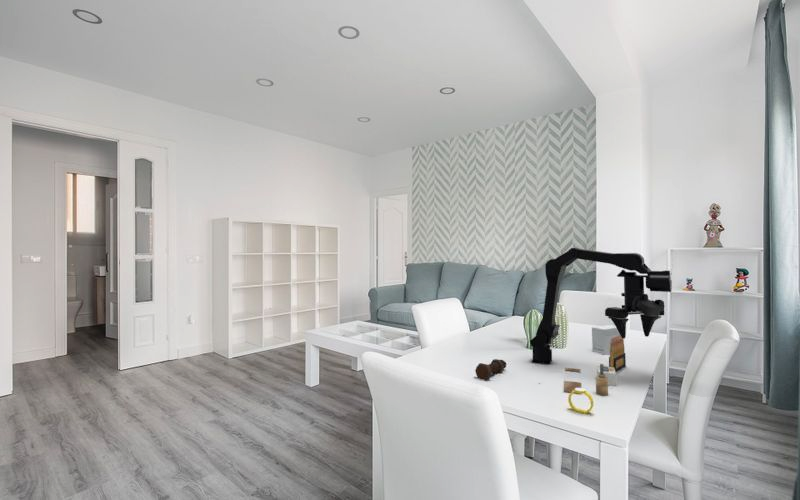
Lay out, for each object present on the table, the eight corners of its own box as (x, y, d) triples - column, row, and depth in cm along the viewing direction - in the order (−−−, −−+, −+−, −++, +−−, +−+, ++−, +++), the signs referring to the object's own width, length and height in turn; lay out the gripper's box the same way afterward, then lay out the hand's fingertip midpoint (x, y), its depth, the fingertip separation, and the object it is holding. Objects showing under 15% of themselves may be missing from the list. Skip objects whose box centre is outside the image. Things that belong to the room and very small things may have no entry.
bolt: (504, 374, 139) (484, 384, 128) (493, 365, 142) (472, 373, 131) (512, 362, 137) (492, 370, 126) (501, 352, 140) (480, 360, 129)
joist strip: (563, 392, 116) (563, 391, 116) (565, 368, 139) (565, 367, 139) (581, 394, 114) (581, 393, 114) (580, 370, 137) (580, 369, 137)
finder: (598, 384, 123) (598, 370, 123) (597, 377, 129) (597, 364, 129) (616, 386, 121) (616, 372, 121) (614, 379, 127) (614, 366, 127)
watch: (568, 411, 103) (566, 389, 104) (571, 408, 105) (569, 386, 106) (592, 415, 100) (590, 392, 100) (594, 412, 102) (593, 389, 102)
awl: (596, 394, 114) (596, 365, 114) (595, 391, 117) (595, 362, 117) (608, 396, 113) (608, 366, 113) (607, 392, 115) (607, 363, 115)
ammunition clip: (614, 373, 133) (614, 338, 133) (608, 372, 135) (608, 337, 135) (625, 366, 140) (625, 334, 140) (620, 365, 142) (619, 333, 142)
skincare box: (608, 348, 166) (608, 324, 166) (622, 352, 160) (622, 326, 160) (591, 351, 162) (591, 326, 162) (605, 355, 156) (604, 329, 156)
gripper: (630, 294, 118) (631, 345, 118) (679, 291, 123) (680, 340, 122) (603, 290, 129) (604, 337, 129) (649, 288, 133) (650, 333, 133)
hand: (635, 337), depth 128 cm, fingers open, 9 cm apart
